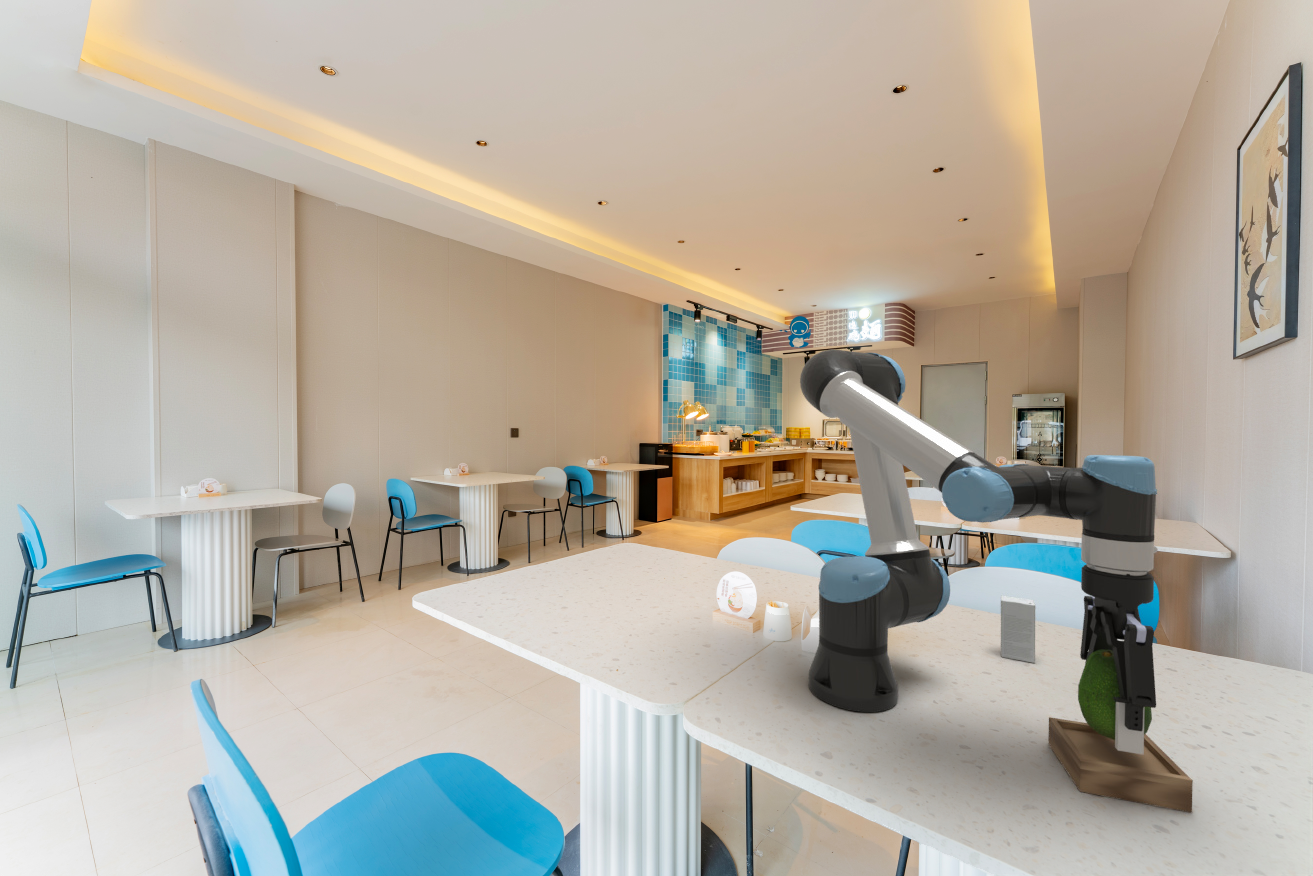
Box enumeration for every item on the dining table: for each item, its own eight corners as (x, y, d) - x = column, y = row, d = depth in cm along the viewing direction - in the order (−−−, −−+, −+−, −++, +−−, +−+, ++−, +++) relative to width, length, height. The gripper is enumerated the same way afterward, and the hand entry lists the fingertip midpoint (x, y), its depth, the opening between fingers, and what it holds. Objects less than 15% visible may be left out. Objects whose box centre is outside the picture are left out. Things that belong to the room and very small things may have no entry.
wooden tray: (1080, 791, 70) (1080, 761, 70) (1048, 743, 81) (1048, 717, 81) (1191, 812, 67) (1192, 780, 66) (1142, 759, 77) (1143, 731, 77)
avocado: (1068, 718, 79) (1070, 637, 79) (1136, 730, 76) (1138, 645, 76) (1088, 747, 72) (1090, 658, 71) (1164, 762, 69) (1166, 668, 68)
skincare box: (1034, 656, 113) (1035, 599, 113) (1035, 664, 109) (1036, 605, 109) (999, 650, 116) (1000, 595, 116) (999, 657, 113) (1000, 600, 112)
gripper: (1199, 592, 62) (1194, 786, 63) (1113, 554, 82) (1110, 702, 82) (1120, 585, 65) (1116, 772, 65) (1055, 550, 85) (1052, 694, 85)
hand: (1113, 733), depth 74 cm, fingers closed on avocado, 8 cm apart
